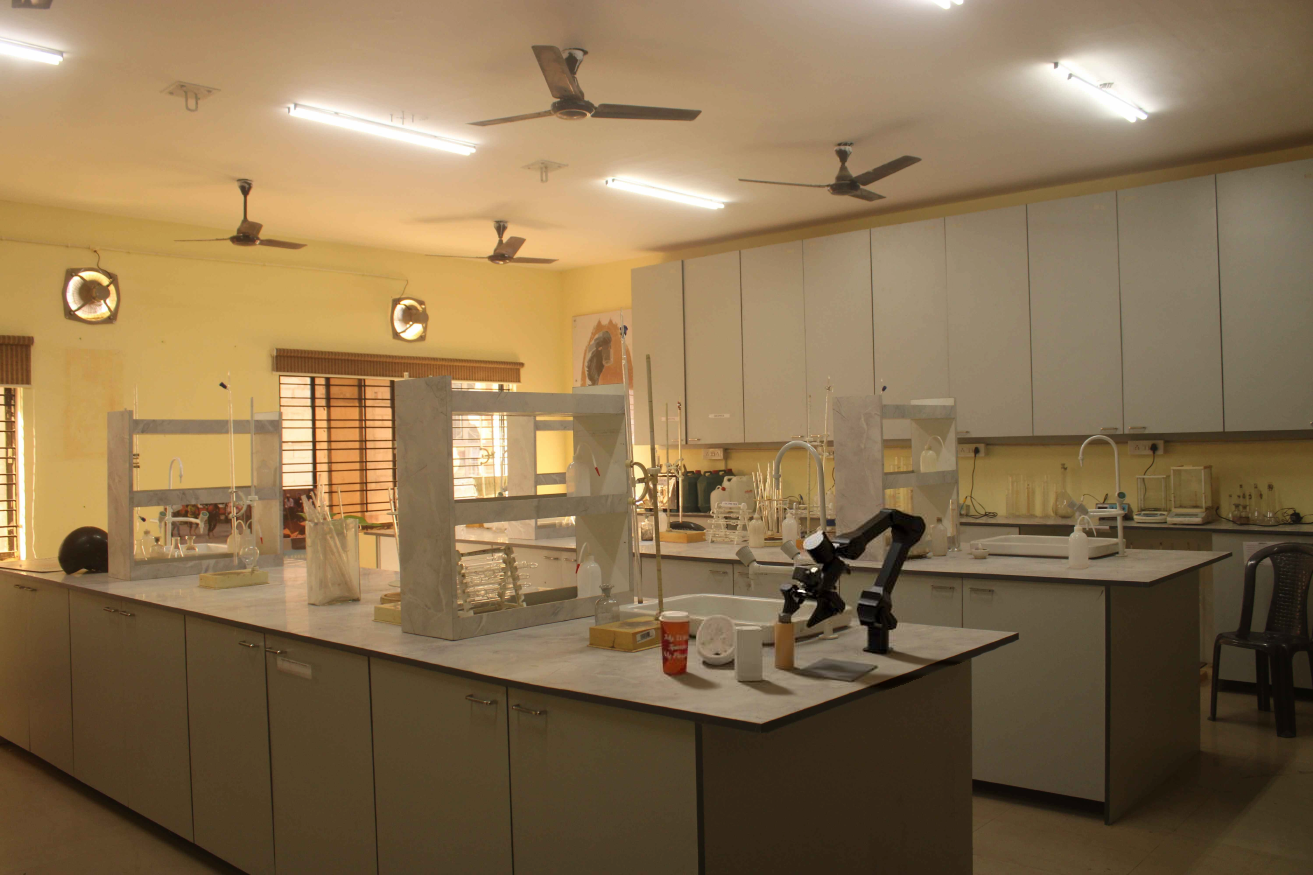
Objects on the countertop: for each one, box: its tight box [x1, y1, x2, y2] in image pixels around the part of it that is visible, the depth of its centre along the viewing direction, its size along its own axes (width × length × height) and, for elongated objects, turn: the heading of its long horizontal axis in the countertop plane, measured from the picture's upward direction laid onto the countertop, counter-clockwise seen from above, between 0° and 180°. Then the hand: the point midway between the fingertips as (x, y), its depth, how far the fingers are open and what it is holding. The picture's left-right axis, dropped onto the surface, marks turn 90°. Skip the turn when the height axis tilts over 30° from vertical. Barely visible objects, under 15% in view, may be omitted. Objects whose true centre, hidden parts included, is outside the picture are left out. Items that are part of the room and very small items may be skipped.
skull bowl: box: [695, 614, 736, 666], centre depth 242 cm, size 10×14×12 cm
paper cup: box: [658, 610, 692, 676], centre depth 229 cm, size 8×8×14 cm
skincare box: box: [733, 625, 763, 682], centre depth 222 cm, size 6×4×12 cm
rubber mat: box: [794, 657, 878, 683], centre depth 232 cm, size 18×14×1 cm
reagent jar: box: [774, 612, 796, 670], centre depth 235 cm, size 5×5×13 cm
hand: (794, 623), depth 237 cm, fingers open, 9 cm apart
